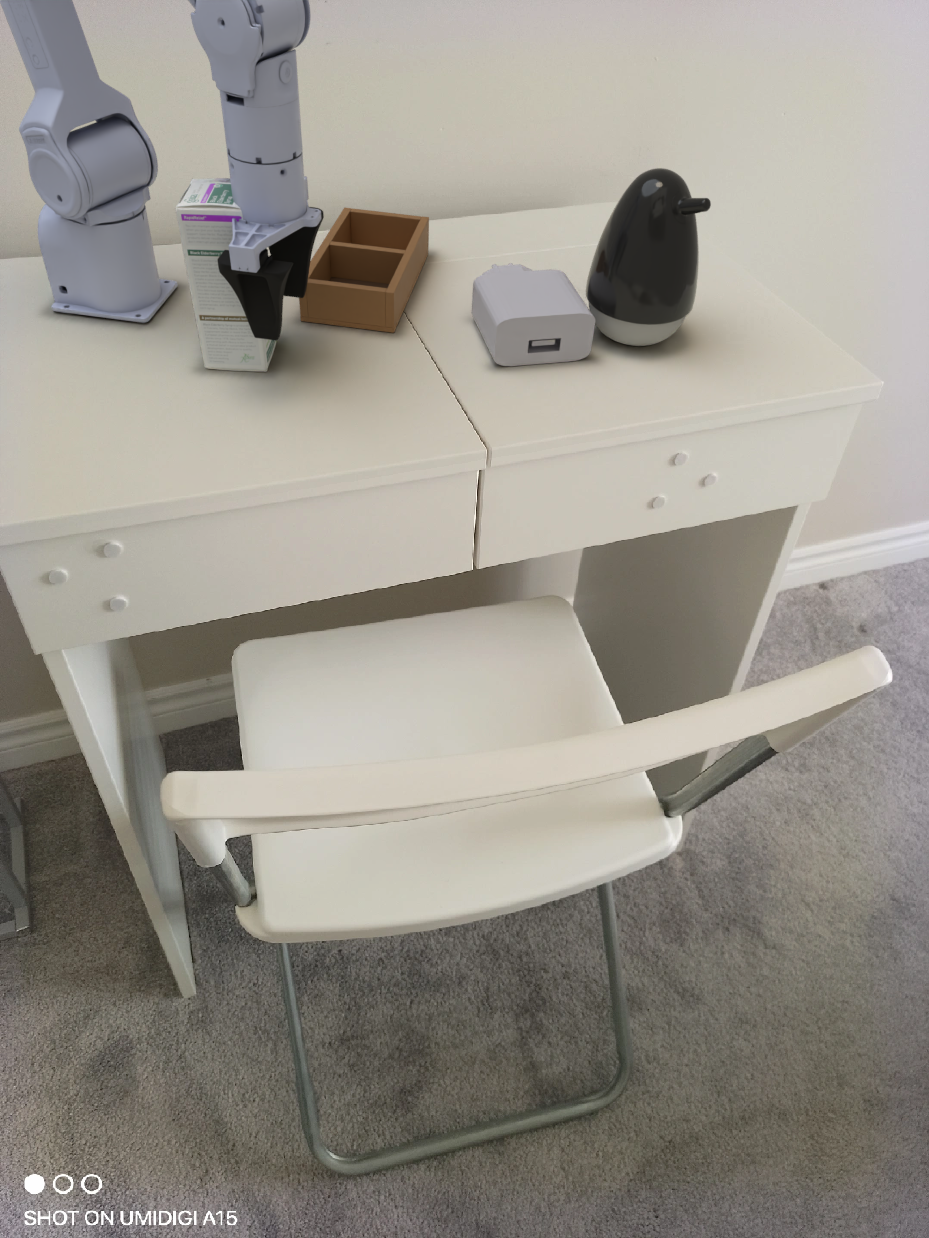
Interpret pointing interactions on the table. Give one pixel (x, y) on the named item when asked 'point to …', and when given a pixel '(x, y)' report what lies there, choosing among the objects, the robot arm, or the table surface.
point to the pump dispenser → (647, 261)
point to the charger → (531, 316)
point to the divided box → (365, 270)
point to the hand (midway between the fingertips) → (280, 315)
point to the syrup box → (216, 279)
